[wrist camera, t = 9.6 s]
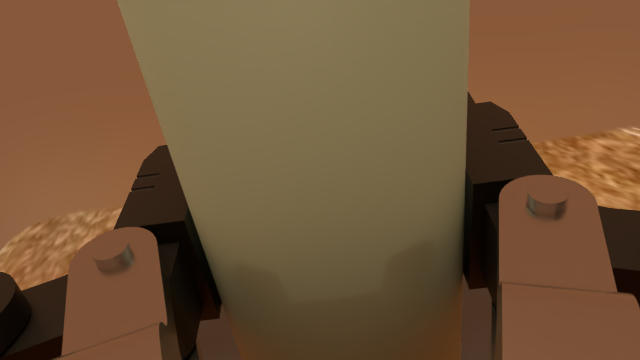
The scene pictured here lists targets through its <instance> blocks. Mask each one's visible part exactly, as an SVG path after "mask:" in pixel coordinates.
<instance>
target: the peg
mask: <svg viewBox="0 0 640 360" xmlns="http://www.w3.org/2000/svg"><path fill="white" fill-rule="evenodd" d="M117 2H118V5H119V8H120V10H121V14H122V16H123V19H124V22H125V25H126V28H127V31H128V34H129V37H130V39H131V42H132V45H133V48H134V51H135V54H136V57H137V60H138V63H139V65H140V68H141V71H142V74H143V77H144V80H145V82H146V86H147V88H148V91H149V94H150V97H151V100H152V103H153V105H154V108H155V111H156V114H157V117H158V120H159V123H160V126H161V129H162V132H163V134H164V137H165V140H166V143H167V146H168V149H169V152H170V155H171V157H172V160H173V163H174V166H175V169H176V172H177V175H178V178H179V180H180V183H181V186H182V189H183V192H184V195H185V198H186V201H187V203H188V206H189V209H190V212H191V215H192V218H193V221H194V224H195V226H196V229H197V232H198V235H199V238H200V241H201V244H202V247H203V249H204V252H205V255H206V258H207V261H208V264H209V267H210V270H211V272H212V275H213V278H214V281H215V284H216V287H217V290H218V293H219V295H220V298H221V301H222V304H223V307H224V310H225V313H226V316H227V318H228V321H229V324H230V327H231V330H232V333H233V336H234V339H235V341H236V344H237V347H238V350H239V353H240V356H241V359H242V360H461V325H462V286H463V247H464V209H465V170H466V133H467V95H468V54H469V18H470V17H469V15H470V0H117Z"/></svg>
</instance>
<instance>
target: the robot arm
mask: <svg viewBox="0 0 640 360" xmlns="http://www.w3.org/2000/svg"><path fill="white" fill-rule="evenodd" d="M131 190H132V192H130V193H129V195H128V197H127V200H126V202H125V204H124V206H123V209H122V211H121V213H120V216H119V218H118V220H117V222H116V225H115V227H114V229H113V230H111V231H109V232H106V233H104V234H101V235H99V236H97V237H96V238H94V239H92V240H91V241H89V242H88V243H86V244H85V245H84V246H83V247H82V248H81V249H80V250H79V251H78V252H77V253H76V254H75V255H74V257H73V258H72V260H71V262H70V265H69V270H68V275H65V276H63V277H60V278H57V279H54V280H51V281H49V282H46V283H43V284H40V285H37V286H34V287H31V288H28V289H26V290H23V291H21V290H20V288H19V287H18V285H17V284H16V282H15V280H14V279H13V278H12V277H11V276H10V275H9V274H6V273H3V272H0V360H203V356H202V351H201V347H200V344H199V342H198V340H197V335H198V329H199V324H200V321H204V320H212V319H220V312H221V306H222V301H221V298H220V295H219V293H218V290H217V287H216V284H215V281H214V278H213V275H212V272H211V270H210V267H209V264H208V261H207V258H206V255H205V252H204V249H203V247H202V244H201V241H200V238H199V235H198V232H197V229H196V226H195V224H194V221H193V218H192V215H191V212H190V209H189V206H188V203H187V201H186V198H185V195H184V192H183V189H182V186H181V183H180V180H179V178H178V175H177V172H176V169H175V166H174V163H173V160H172V157H171V155H170V152H169V149H168V146H167V145H163V146H159V147H157V149H155V150H154V151H153V152H152V153H151V154H150V155H149V156H148V157H147V158H146V159H145V160H144V161H143V163H142V165H141V168H140V170H139V172H138V174H137V179H135V181H134V184H133V186H132V188H131ZM463 274H464V277H465V279H466V282H467V285H468V288H469V290H471V289H480V288H488V291H489V293H490V296H491V298H492V302H491V316H490V360H640V211H636V210H623V209H613V208H606V207H602V206H597V202H596V200H595V198H594V196H593V195H592V194H591V193H590V192H589V191H588V190H587V189H586V188H585V187H583V186H582V185H580V184H578V183H576V182H574V181H571V180H569V179H566V178H562V177H558V176H553V175H552V173H551V172H550V170H549V169H548V167H547V166H546V164H545V163H544V162H543V160H542V159H541V157H540V156H539V154H538V153H537V152H536V150H535V149H534V147H533V146H532V144H531V143H530V142H529V140H527V138H526V136H525V134H524V133H523V132H522V130H521V129H519V126H518V125H517V123H516V122H515V120H514V119H513V117H512V116H511V115H510V113H509V112H508V111H506V110H504V109H502V108H501V107H499V106H497V105H495V104H494V103H492V102H485V103H477V104H475V102H474V100H473V99H472V97H471V95H470V94H469V92H468V95H467V133H466V170H465V209H464V247H463Z"/></svg>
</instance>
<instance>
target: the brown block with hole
mask: <svg viewBox="0 0 640 360" xmlns="http://www.w3.org/2000/svg"><path fill="white" fill-rule="evenodd" d="M491 302H492V298H491V296H490V293H489V291H488V288H480V289H471V290H469V288H468V285H467V282H466V279H465V277H464V274H463V286H462V325H461V360H490V316H491ZM197 340H198V342H199V344H200V347H201V351H202V356H203V360H242V359H241V356H240V353H239V350H238V347H237V344H236V341H235V339H234V336H233V333H232V330H231V327H230V324H229V321H228V318H227V316H226V313H225V310H224V307H223V304H222V306H221V312H220V319H212V320H204V321H200V324H199V329H198V335H197Z"/></svg>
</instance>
